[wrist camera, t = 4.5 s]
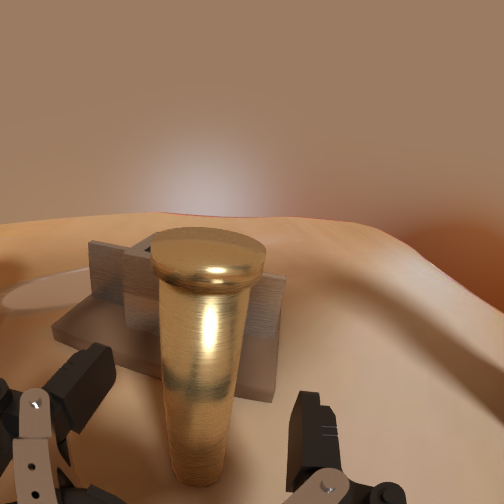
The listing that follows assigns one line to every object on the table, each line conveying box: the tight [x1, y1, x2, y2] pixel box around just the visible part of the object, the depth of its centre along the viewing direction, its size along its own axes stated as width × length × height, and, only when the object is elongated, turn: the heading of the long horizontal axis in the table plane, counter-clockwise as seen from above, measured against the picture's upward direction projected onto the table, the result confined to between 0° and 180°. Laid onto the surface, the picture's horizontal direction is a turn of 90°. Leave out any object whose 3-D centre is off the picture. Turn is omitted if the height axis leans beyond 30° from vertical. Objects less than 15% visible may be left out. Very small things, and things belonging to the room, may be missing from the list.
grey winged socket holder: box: [88, 232, 286, 339], centre depth 25 cm, size 19×7×7 cm, turn 82°
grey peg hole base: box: [51, 294, 281, 403], centre depth 27 cm, size 20×14×2 cm
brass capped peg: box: [150, 227, 266, 487], centre depth 11 cm, size 4×4×14 cm
